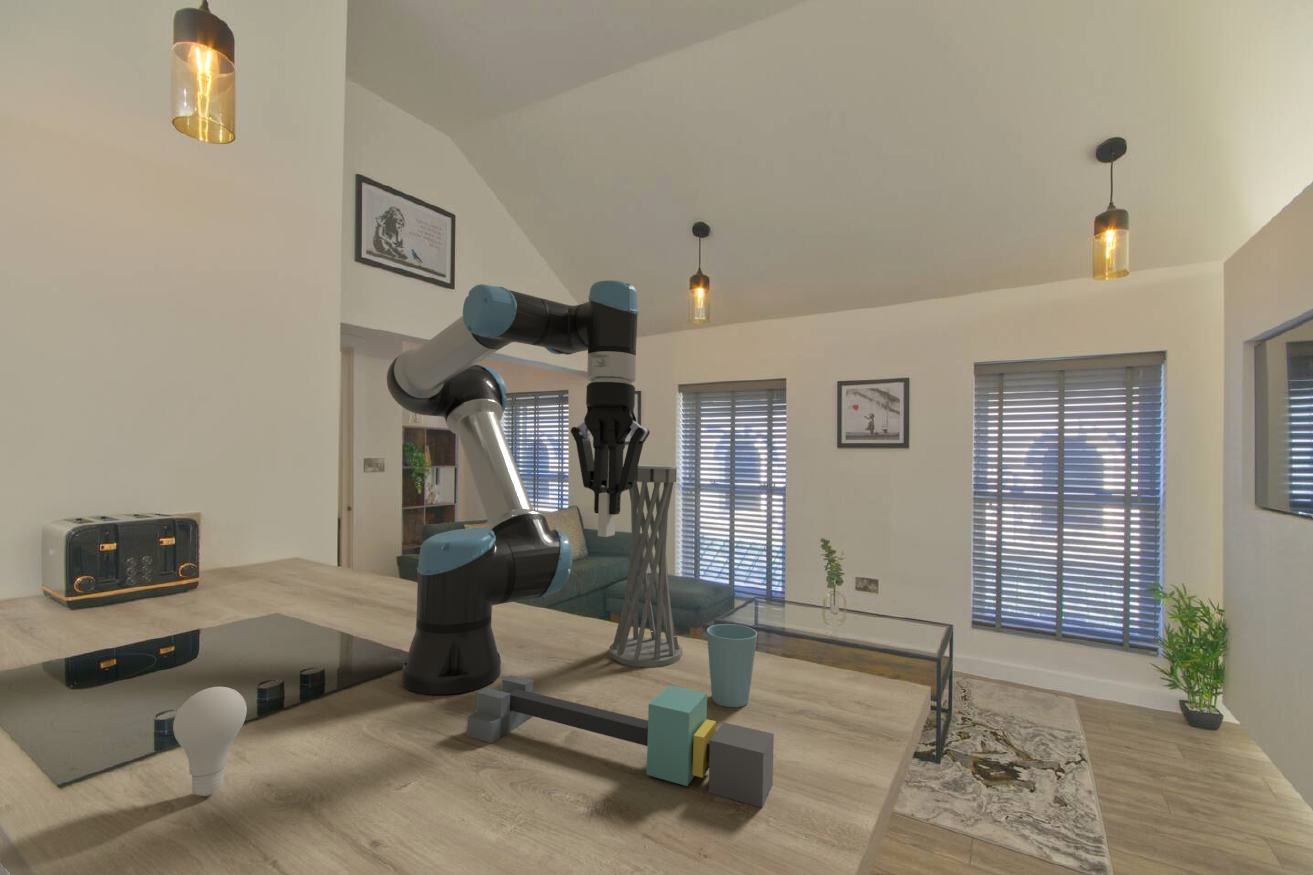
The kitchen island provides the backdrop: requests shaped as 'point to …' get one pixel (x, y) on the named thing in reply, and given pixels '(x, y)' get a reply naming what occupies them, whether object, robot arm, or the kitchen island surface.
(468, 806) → the kitchen island surface
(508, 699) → the grey stepped brick
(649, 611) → the grey lattice tower
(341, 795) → the kitchen island surface
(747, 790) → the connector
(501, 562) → the robot arm
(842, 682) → the kitchen island surface
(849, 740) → the kitchen island surface
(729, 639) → the cup
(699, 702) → the sleeve
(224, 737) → the lightbulb
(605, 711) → the dark grey long bar
